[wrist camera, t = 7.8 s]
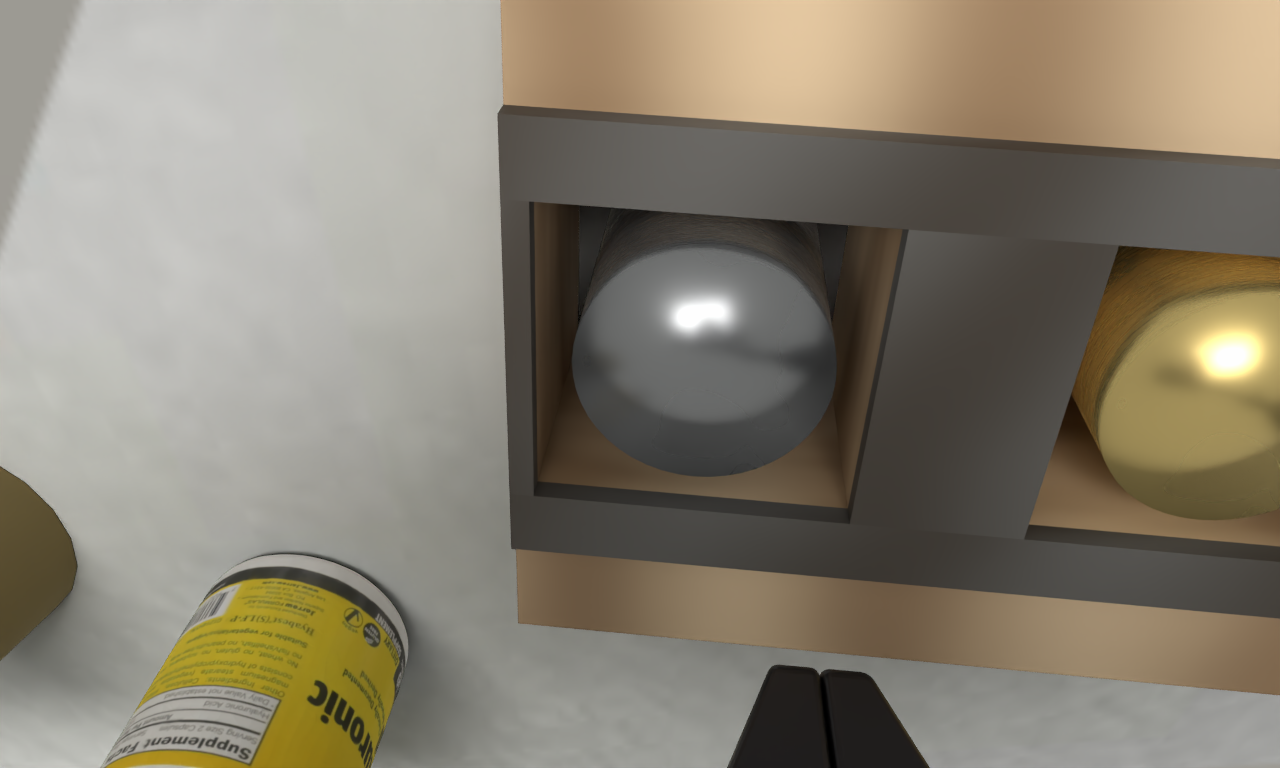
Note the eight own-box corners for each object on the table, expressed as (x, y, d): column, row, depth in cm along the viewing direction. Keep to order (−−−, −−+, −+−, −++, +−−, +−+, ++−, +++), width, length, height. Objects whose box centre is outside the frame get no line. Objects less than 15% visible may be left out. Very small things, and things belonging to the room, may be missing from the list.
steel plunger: (831, 145, 18) (856, 262, 14) (803, 339, 21) (817, 487, 16) (609, 130, 19) (573, 240, 15) (604, 322, 21) (570, 465, 17)
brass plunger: (1288, 178, 18) (1446, 307, 14) (1210, 371, 20) (1327, 530, 16) (1058, 162, 18) (1147, 284, 14) (1004, 354, 20) (1069, 508, 16)
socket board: (1437, -69, 16) (1708, 9, 12) (1186, 517, 23) (1297, 713, 18) (559, -120, 17) (492, -66, 12) (558, 463, 23) (514, 639, 19)
